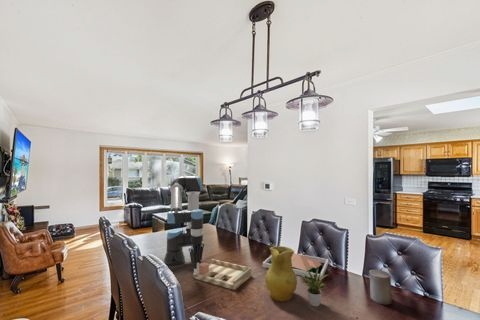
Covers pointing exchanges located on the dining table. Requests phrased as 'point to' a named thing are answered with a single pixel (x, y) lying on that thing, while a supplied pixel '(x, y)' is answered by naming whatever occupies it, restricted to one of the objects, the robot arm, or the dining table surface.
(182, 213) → the robot arm
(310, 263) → the house
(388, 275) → the pillar candle
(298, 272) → the serving tray rim
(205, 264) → the salmon block
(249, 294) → the dining table surface
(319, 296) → the house plant
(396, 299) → the dining table surface
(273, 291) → the pitcher
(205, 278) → the cube sorting tray
